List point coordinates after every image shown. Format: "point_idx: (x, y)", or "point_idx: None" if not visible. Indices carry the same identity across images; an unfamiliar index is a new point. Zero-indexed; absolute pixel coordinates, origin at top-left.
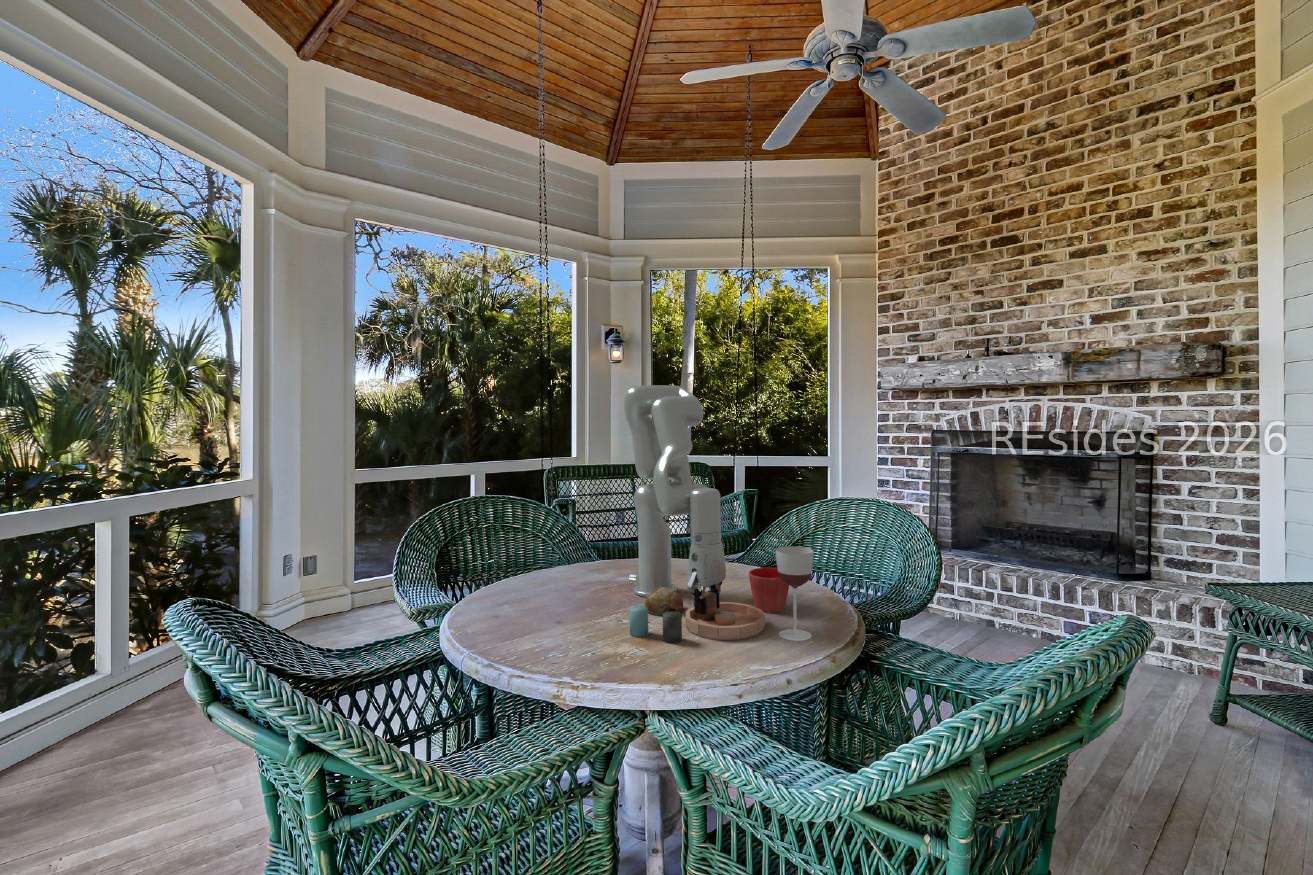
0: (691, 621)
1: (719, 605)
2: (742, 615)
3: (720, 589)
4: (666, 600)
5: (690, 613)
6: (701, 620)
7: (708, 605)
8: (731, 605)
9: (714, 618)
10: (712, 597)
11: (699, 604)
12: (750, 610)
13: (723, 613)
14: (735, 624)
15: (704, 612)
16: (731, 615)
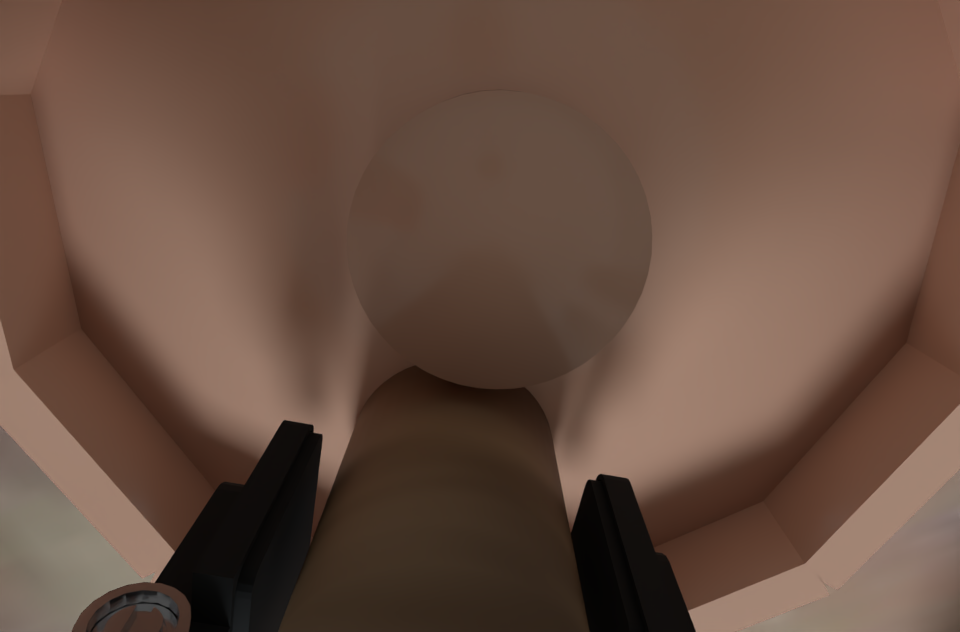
0: (905, 509)
1: (280, 433)
2: (139, 118)
3: (96, 612)
4: None
5: None
6: None
7: (559, 523)
8: (27, 339)
9: None
10: (518, 571)
11: (684, 628)
12: (7, 7)
13: (481, 279)
14: (523, 62)
15: (630, 493)
16: (516, 134)
